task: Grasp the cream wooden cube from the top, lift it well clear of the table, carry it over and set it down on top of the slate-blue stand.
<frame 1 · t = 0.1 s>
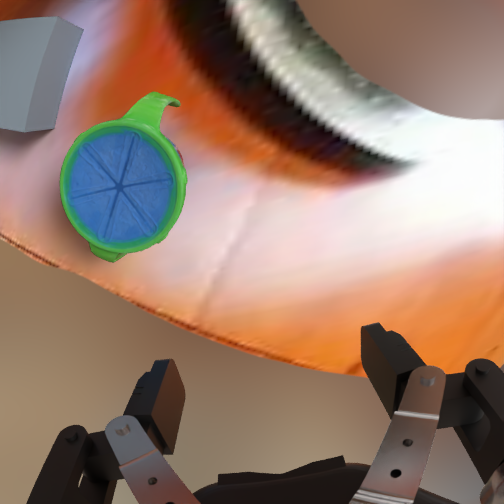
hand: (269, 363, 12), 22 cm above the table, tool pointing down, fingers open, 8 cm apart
slate stand: (24, 74, 24), on the table
snack cup: (150, 169, 31), on the table
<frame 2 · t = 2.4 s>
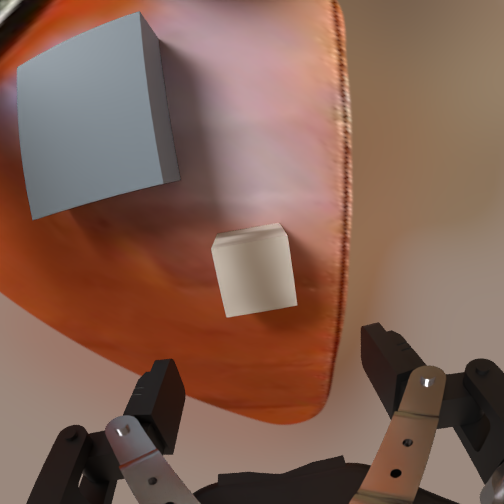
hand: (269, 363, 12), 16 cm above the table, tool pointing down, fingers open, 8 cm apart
slate stand: (106, 122, 24), on the table
cream cube: (253, 257, 28), on the table
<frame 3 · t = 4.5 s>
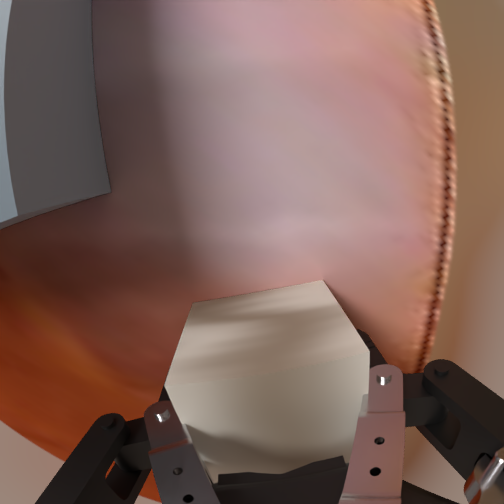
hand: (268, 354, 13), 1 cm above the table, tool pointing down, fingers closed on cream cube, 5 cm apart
cream cube: (267, 347, 13), on the table, touching gripper
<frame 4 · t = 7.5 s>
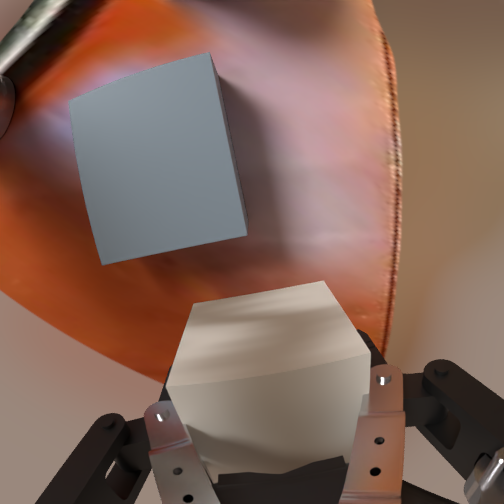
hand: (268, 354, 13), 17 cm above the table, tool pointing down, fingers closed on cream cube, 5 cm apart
slate stand: (168, 161, 27), on the table
cream cube: (268, 347, 13), point 16 cm above the table, touching gripper
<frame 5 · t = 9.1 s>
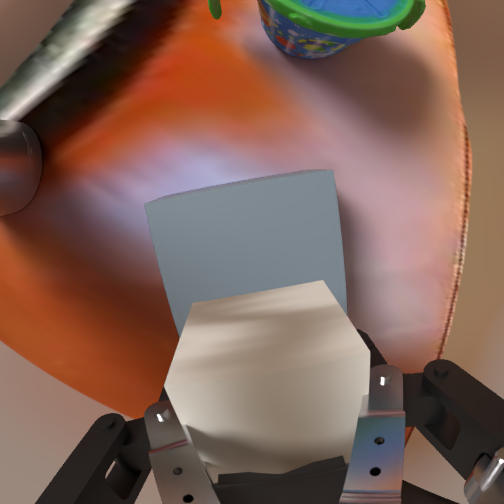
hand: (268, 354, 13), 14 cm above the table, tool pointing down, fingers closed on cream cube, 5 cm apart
slate stand: (253, 264, 26), on the table
snack cup: (305, 26, 21), on the table
cream cube: (267, 347, 13), point 13 cm above the table, touching gripper
when the fingers open (8 cm above the table, at t = 10.5 s): cream cube drops 1 cm, resting on slate stand.
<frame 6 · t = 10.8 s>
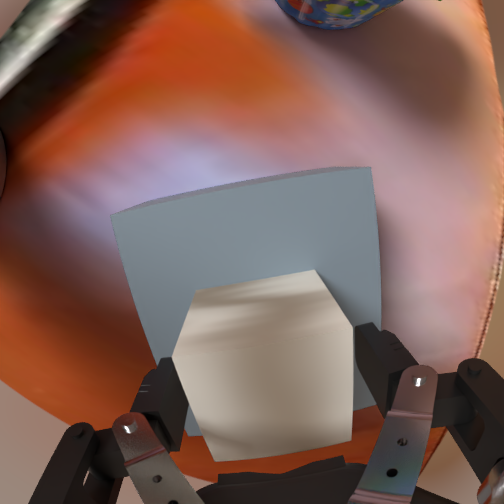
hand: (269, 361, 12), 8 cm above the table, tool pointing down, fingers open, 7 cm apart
slate stand: (259, 287, 21), on the table
cream cube: (264, 332, 15), point 6 cm above the table, touching slate stand
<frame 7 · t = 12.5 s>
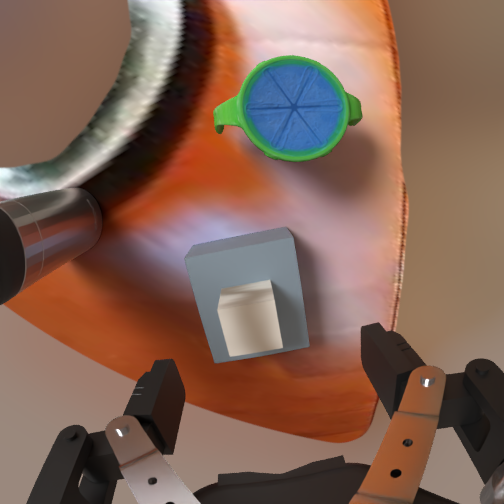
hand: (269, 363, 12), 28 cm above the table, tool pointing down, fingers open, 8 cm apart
slate stand: (250, 287, 41), on the table
snack cup: (282, 122, 36), on the table
cream cube: (250, 306, 35), point 6 cm above the table, touching slate stand
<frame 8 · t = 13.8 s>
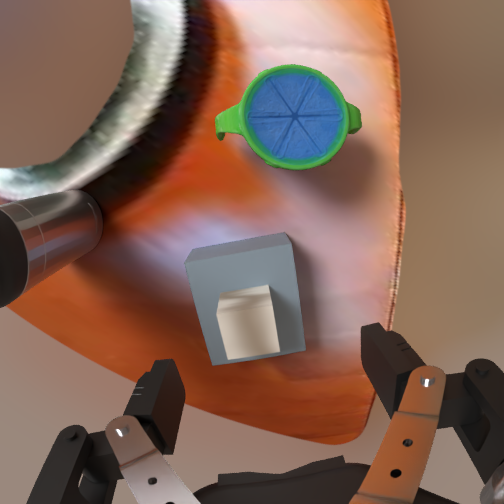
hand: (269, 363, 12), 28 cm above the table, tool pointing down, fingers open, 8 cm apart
slate stand: (248, 291, 42), on the table
snack cup: (282, 128, 36), on the table
cream cube: (248, 310, 36), point 6 cm above the table, touching slate stand
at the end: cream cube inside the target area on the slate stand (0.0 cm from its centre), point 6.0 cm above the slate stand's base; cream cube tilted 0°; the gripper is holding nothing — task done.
